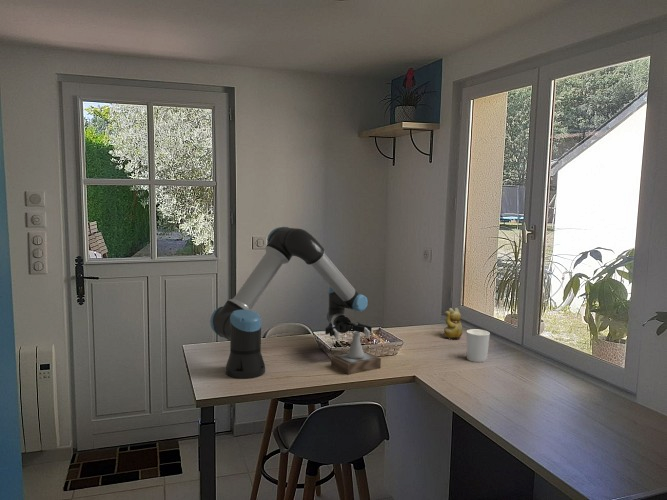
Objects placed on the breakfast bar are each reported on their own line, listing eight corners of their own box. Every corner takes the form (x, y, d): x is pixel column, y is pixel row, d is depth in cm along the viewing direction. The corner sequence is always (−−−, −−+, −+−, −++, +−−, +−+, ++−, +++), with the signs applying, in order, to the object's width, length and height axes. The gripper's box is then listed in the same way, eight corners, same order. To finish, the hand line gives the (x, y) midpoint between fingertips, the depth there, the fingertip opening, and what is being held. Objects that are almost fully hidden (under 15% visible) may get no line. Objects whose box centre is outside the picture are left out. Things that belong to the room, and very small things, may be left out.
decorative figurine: (453, 335, 274) (454, 305, 273) (466, 338, 268) (468, 308, 267) (440, 337, 268) (442, 308, 267) (454, 341, 262) (455, 311, 260)
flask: (365, 354, 222) (365, 330, 221) (364, 359, 215) (365, 335, 214) (347, 353, 223) (348, 329, 222) (346, 358, 216) (347, 334, 215)
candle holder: (493, 361, 231) (494, 334, 230) (474, 363, 228) (475, 335, 226) (479, 355, 240) (480, 328, 239) (460, 357, 237) (461, 330, 236)
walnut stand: (347, 374, 210) (348, 363, 210) (330, 366, 220) (331, 355, 220) (380, 368, 219) (380, 357, 219) (362, 360, 229) (363, 350, 228)
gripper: (367, 330, 248) (382, 342, 227) (313, 332, 242) (323, 345, 222) (368, 314, 247) (382, 325, 226) (314, 315, 241) (323, 327, 221)
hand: (353, 335), depth 224 cm, fingers open, 13 cm apart
